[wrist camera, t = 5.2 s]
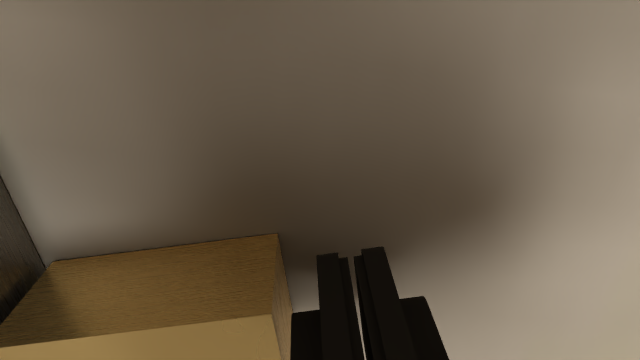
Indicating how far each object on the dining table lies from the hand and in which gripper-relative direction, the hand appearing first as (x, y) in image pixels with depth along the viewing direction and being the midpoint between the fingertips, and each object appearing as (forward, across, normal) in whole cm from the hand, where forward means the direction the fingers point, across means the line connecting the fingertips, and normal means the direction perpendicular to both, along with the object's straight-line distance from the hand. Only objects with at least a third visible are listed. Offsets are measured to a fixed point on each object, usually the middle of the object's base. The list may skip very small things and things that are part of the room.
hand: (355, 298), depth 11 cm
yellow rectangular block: (+1, +5, 0) cm, 5 cm away
